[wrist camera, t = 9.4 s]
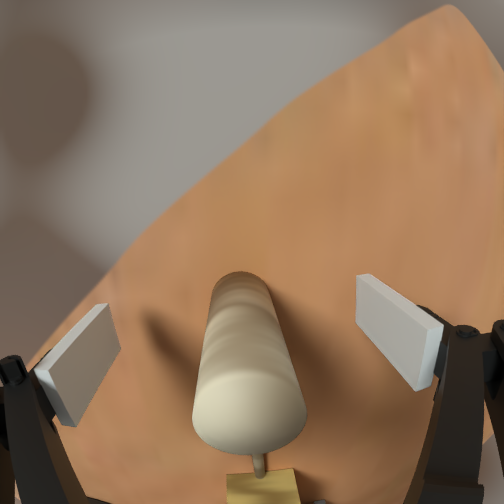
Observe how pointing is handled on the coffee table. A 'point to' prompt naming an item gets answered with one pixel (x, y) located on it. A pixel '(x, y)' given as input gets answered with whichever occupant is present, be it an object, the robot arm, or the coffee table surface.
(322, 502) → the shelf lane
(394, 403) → the coffee table surface
